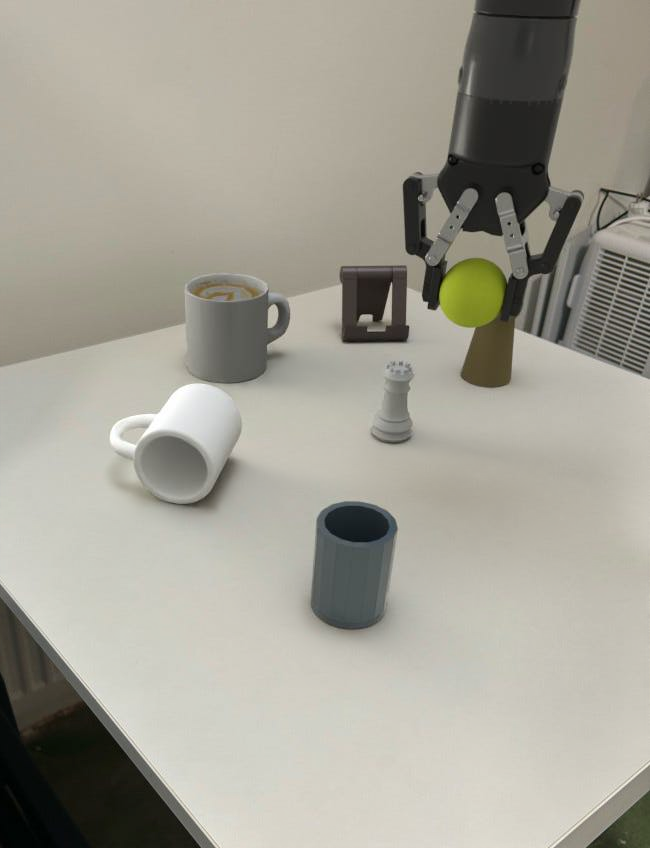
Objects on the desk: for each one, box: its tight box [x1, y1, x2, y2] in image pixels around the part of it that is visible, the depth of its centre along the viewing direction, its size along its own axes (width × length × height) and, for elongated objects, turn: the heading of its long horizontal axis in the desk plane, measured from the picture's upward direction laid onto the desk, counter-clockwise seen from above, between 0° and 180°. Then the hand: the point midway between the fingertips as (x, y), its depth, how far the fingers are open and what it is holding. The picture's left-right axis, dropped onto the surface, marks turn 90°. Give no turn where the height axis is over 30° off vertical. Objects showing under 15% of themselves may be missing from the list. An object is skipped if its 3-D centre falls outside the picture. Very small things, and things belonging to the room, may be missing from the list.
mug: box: [109, 382, 243, 505], centre depth 80 cm, size 12×10×8 cm
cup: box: [310, 500, 399, 630], centre depth 64 cm, size 6×6×8 cm
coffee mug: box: [184, 272, 291, 384], centre depth 101 cm, size 13×10×10 cm
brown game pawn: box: [460, 302, 524, 388], centre depth 98 cm, size 6×6×11 cm
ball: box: [439, 257, 508, 329], centre depth 69 cm, size 6×6×6 cm
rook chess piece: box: [370, 359, 415, 444], centre depth 87 cm, size 4×4×8 cm
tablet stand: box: [339, 265, 410, 342], centre depth 110 cm, size 9×8×8 cm
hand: (469, 312), depth 70 cm, fingers closed on ball, 5 cm apart
